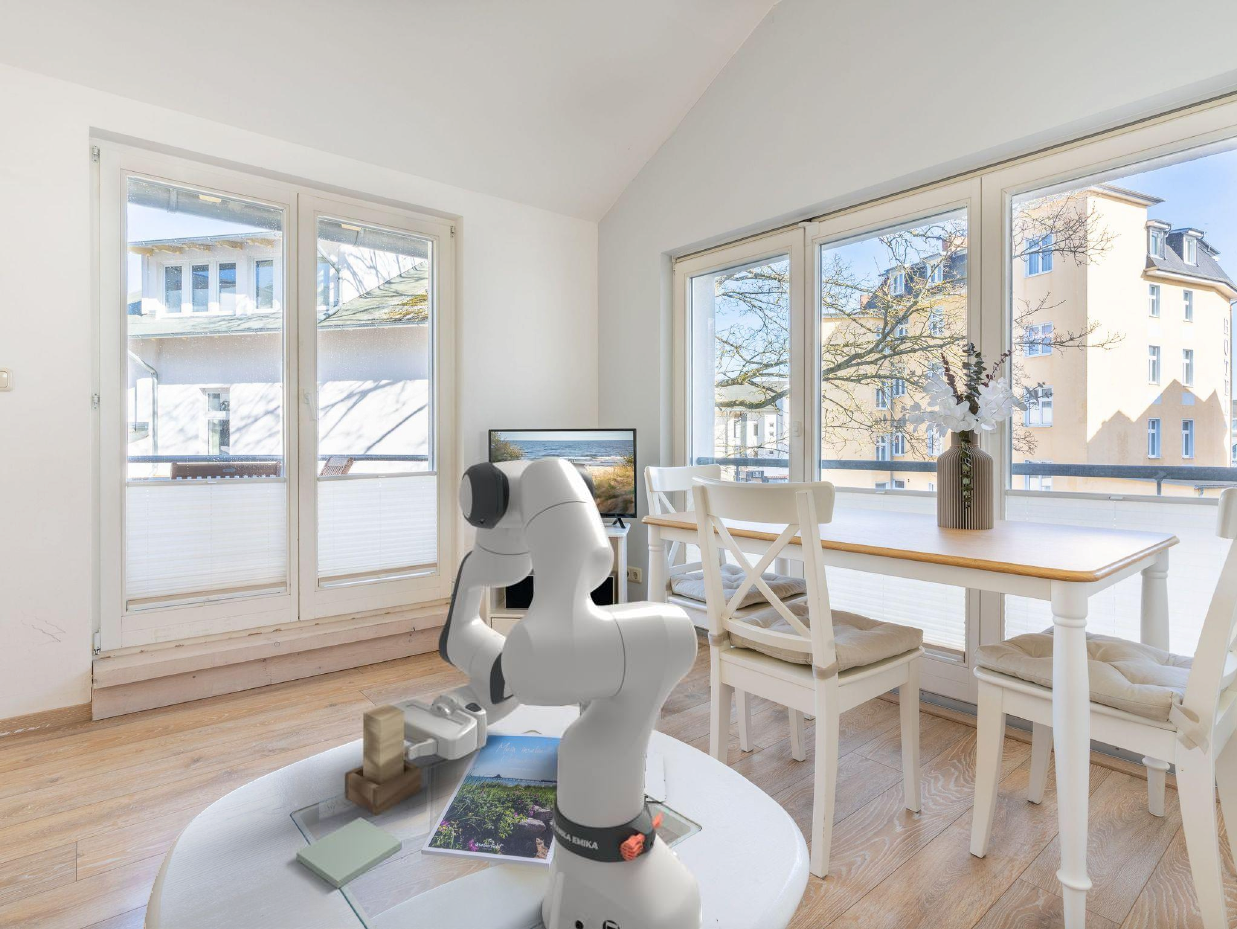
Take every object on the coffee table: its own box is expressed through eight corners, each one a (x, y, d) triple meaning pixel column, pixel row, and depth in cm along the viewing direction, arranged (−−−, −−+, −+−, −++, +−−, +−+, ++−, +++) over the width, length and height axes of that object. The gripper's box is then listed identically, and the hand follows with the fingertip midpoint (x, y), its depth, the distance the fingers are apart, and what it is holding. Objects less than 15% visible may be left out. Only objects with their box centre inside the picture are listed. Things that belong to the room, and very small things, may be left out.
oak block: (403, 792, 106) (403, 710, 106) (380, 805, 103) (380, 720, 102) (386, 783, 109) (386, 703, 108) (363, 795, 105) (363, 712, 104)
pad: (401, 848, 92) (401, 841, 92) (337, 888, 84) (337, 881, 84) (360, 823, 98) (360, 817, 98) (296, 858, 89) (296, 851, 89)
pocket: (421, 790, 107) (421, 767, 107) (376, 815, 100) (376, 790, 100) (389, 774, 112) (389, 752, 111) (344, 797, 105) (344, 773, 104)
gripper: (416, 685, 123) (351, 710, 112) (492, 713, 112) (428, 744, 100) (416, 717, 124) (351, 745, 112) (492, 748, 112) (428, 783, 101)
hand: (388, 745), depth 106 cm, fingers open, 8 cm apart
